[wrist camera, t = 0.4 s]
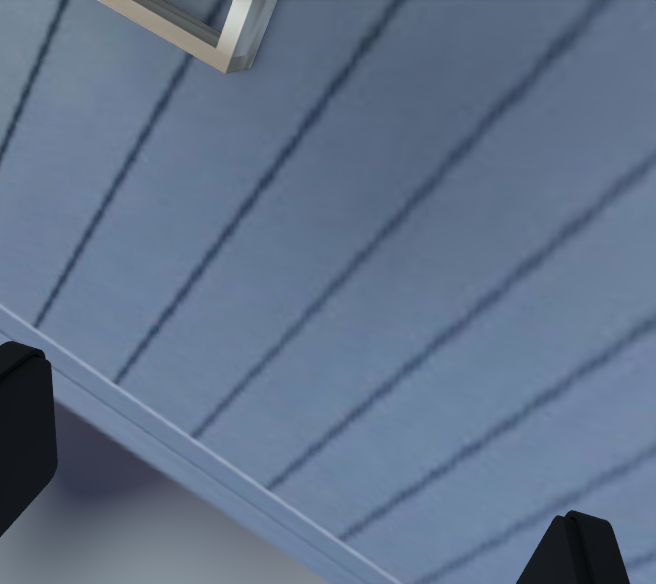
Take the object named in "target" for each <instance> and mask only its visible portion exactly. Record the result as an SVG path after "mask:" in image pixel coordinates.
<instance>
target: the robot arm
mask: <svg viewBox="0 0 656 584" xmlns="http://www.w3.org/2000/svg"><path fill="white" fill-rule="evenodd" d="M57 463H58V460H57V445H56V430H55V415H54V400H53V385H52V370H51V363H50V362H49V361H48V360H46V358H45V354H44V352H43V351H42V350H40V349H37V348H33V347H30V346H27V345H24V344H20V343H17V342H14V341H9V342H6V343H4V344H2V345H1V346H0V537H1V536H2V535H3V534H4V532H5V531H6V530H7V529H8V528H9V527H10V526H11V525H12V524H13V522H14V521H15V520H16V519H17V518H18V517H19V516H20V515H21V513H22V512H23V511H24V510H25V509H26V508H27V506H28V505H29V504H30V503H31V502H32V501H33V500H34V499H35V498H36V497H37V495H38V494H39V493H40V492H41V491H42V490H43V488H44V487H46V485H47V484H48V483H49V482H50V480H51V479H52V477H53V476H54V474H55V471H56V469H57ZM516 584H630V582H629V579H628V576H627V572H626V569H625V566H624V563H623V560H622V557H621V553H620V550H619V547H618V544H617V541H616V537H615V534H614V531H613V528H612V526H611V524H610V523H609V522H608V521H607V520H604V519H600V518H597V517H594V516H590V515H587V514H584V513H580V512H577V511H573V510H571V511H569V512H568V513H567V514H566V515H565V517H563V516H559V515H557V516H556V517H555V518H554V519H553V521H552V523H551V524H550V526H549V528H548V529H547V531H546V533H545V535H544V536H543V538H542V540H541V541H540V543H539V545H538V547H537V548H536V550H535V552H534V553H533V555H532V557H531V559H530V560H529V562H528V564H527V565H526V567H525V569H524V571H523V572H522V574H521V576H520V578H519V579H518V581H517V583H516Z"/></svg>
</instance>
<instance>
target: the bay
mask: <svg viewBox="0 0 656 584" xmlns="http://www.w3.org/2000/svg"><path fill="white" fill-rule="evenodd" d="M98 1H100V2H101V3H103V4H105V5H106V6H108V7H110V8H112V9H113V10H115V11H117V12H119V13H120V14H122V15H124V16H126V17H127V18H129V19H131V20H133V21H134V22H136V23H138V24H139V25H141V26H143V27H145V28H146V29H148V30H150V31H152V32H153V33H155V34H157V35H159V36H160V37H162V38H164V39H166V40H167V41H169V42H171V43H173V44H174V45H176V46H178V47H179V48H181V49H183V50H185V51H186V52H188V53H190V54H192V55H193V56H195V57H197V58H199V59H200V60H202V61H204V62H206V63H207V64H209V65H211V66H212V67H214V68H216V69H218V70H219V71H221V72H223V73H225V74H226V73H231V72H236V71H241V70H245V69H250V68H251V66H252V64H253V61H254V59H255V56H256V54H257V51H258V48H259V46H260V43H261V41H262V38H263V36H264V33H265V31H266V28H267V26H268V23H269V20H270V18H271V15H272V13H273V10H274V8H275V5H276V3H277V0H233V2H232V5H231V8H230V11H229V14H228V17H227V19H226V22H225V25H224V28H223V31H222V33H220V32H218V31H216V30H214V29H213V28H211V27H209V26H207V25H206V24H204V23H202V22H201V21H199V20H197V19H195V18H194V17H192V16H190V15H188V14H187V13H185V12H183V11H182V10H180V9H178V8H176V7H175V6H173V5H171V4H169V3H168V2H166V1H164V0H98Z"/></svg>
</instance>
